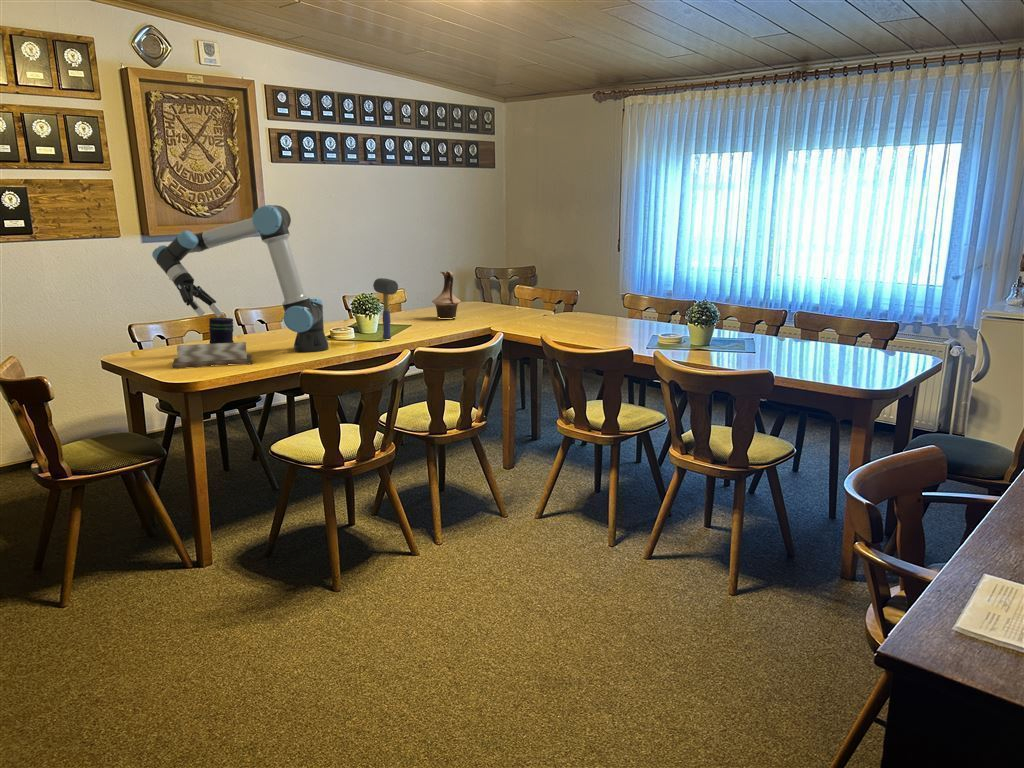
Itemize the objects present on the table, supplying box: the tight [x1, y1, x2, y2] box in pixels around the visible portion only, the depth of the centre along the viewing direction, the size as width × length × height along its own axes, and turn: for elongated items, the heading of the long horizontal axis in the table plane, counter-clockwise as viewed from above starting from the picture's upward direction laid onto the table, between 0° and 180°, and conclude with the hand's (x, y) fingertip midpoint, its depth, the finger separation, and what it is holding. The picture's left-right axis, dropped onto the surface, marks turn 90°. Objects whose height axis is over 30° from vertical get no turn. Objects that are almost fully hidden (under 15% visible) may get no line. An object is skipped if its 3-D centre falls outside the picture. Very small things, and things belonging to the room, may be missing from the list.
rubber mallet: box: [372, 277, 399, 340], centre depth 352 cm, size 12×8×30 cm, turn 42°
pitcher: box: [431, 270, 462, 318], centre depth 421 cm, size 18×17×28 cm
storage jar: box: [208, 317, 235, 344], centre depth 317 cm, size 10×10×15 cm
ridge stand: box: [171, 341, 253, 369], centre depth 299 cm, size 30×14×8 cm, turn 111°
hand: (212, 315), depth 307 cm, fingers open, 13 cm apart
